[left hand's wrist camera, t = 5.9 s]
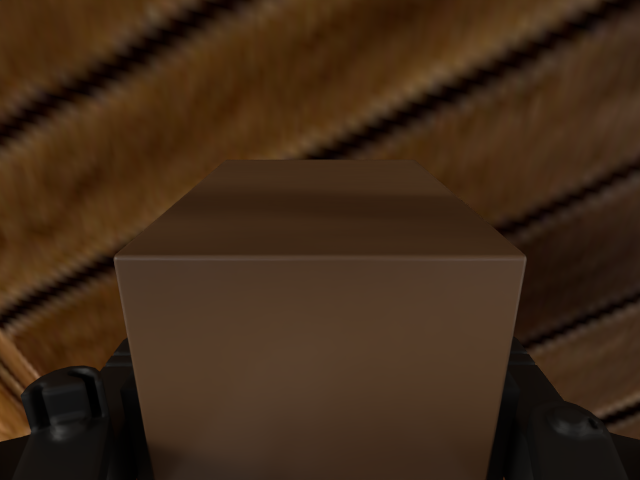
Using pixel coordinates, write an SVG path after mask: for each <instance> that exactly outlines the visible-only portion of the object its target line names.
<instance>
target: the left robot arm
mask: <svg viewBox="0 0 640 480" xmlns="http://www.w3.org/2000/svg"><path fill="white" fill-rule="evenodd" d="M21 399H22V402H23V405H24V409H25V412H26V415H27V419H28V422H29V425H30V429H31V434H30V435H27V436H23V437H19V438H15V439H11V440H6V441H2V442H0V480H136V478H137V480H153V474H152V469H151V463H150V458H149V452H148V447H147V441H146V436H145V430H144V425H143V419H142V413H141V408H140V402H139V397H138V391H137V386H136V380H135V375H134V369H133V364H132V358H131V353H130V347H129V342H128V338H126V339H125V340H123V342H122V343H121V344H120V346H119V347H118V348H117V350H116V351H115V352H114V356H111V358H110V359H109V360H108V362H107V363H106V366H105V367H103V368H102V370H101V371H100V372H99V371H98V370H97V369H96V368H93V367H88V366H70V367H66V368H63V369H59V370H55V371H53V372H51V373H48V374H46V375H44V376H42V377H40V378H39V379H37V380H36V381H34V382H33V383H32V384H30V385H29V386H28V387H27V388H26V389H25V391H24V392H23V393H22V394H21ZM503 476H504V478H505V480H640V440H638V439H633V438H629V437H624V436H620V435H617V434H613V433H610V432H609V431H608V430H607V428H606V427H605V425H604V424H603V422H602V421H601V420H600V419H598V418H597V417H596V416H595V415H594V414H592V413H591V412H590V411H588V410H586V409H584V408H582V407H580V406H578V405H576V404H573V403H569V402H566V401H564V400H563V399H562V398H561V396H560V395H559V394H558V392H557V391H556V390H555V388H554V387H553V386H552V384H551V383H550V382H549V380H548V379H547V378H546V376H545V375H544V374H543V372H542V371H541V370H540V369H539V367H538V366H537V365H535V362H534V361H533V359H532V358H531V357H530V355H529V354H527V351H526V350H525V349H524V347H523V346H522V345H521V343H520V342H519V341H518V339H516V338H515V337H513V338H512V344H511V349H510V355H509V360H508V366H507V371H506V377H505V382H504V388H503V393H502V399H501V404H500V410H499V415H498V421H497V426H496V432H495V437H494V443H493V448H492V454H491V460H490V465H489V471H488V476H487V480H503Z"/></svg>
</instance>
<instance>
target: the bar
mask: <svg viewBox="0 0 640 480" xmlns="http://www.w3.org/2000/svg"><path fill="white" fill-rule="evenodd" d="M526 261H527V259H526V255H525V254H523V253H522V252H521V251H520V250H519V249H518V248H516V247H515V246H514V245H513V244H512V243H511V242H509V241H508V240H507V239H506V238H505V237H504V236H502V235H501V234H500V233H499V232H498V231H497V230H495V229H494V228H493V227H492V226H491V225H490V224H488V223H487V222H486V221H485V220H484V219H483V218H481V217H480V216H479V215H478V214H477V213H476V212H474V211H473V210H472V209H471V208H470V207H469V206H467V205H466V204H465V203H464V202H463V201H462V200H460V199H459V198H458V197H457V196H456V195H455V194H453V193H452V192H451V191H450V190H449V189H448V188H446V187H445V186H444V185H443V184H442V183H441V182H439V181H438V180H437V179H436V178H435V177H434V176H432V175H431V174H430V173H429V172H428V171H427V170H425V169H424V168H423V167H422V166H421V165H420V164H418V163H417V162H416V161H415V160H226V161H224V162H223V163H222V164H221V165H220V166H218V167H217V168H216V169H215V170H214V171H213V172H211V173H210V174H209V175H208V176H207V177H206V178H204V179H203V180H202V181H201V182H200V183H199V184H197V185H196V186H195V187H194V188H193V189H192V190H190V191H189V192H188V193H187V194H186V195H185V196H183V197H182V198H181V199H180V200H179V201H178V202H176V203H175V204H174V205H173V206H172V207H171V208H169V209H168V210H167V211H166V212H165V213H164V214H162V215H161V216H160V217H159V218H158V219H157V220H155V221H154V222H153V223H152V224H151V225H150V226H148V227H147V228H146V229H145V230H144V231H143V232H141V233H140V234H139V235H138V236H137V237H136V238H134V239H133V240H132V241H131V242H130V243H129V244H127V245H126V246H125V247H124V248H123V249H122V250H120V251H119V252H118V253H117V254H116V255H115V257H114V264H115V270H116V275H117V281H118V286H119V292H120V297H121V303H122V308H123V314H124V319H125V325H126V330H127V336H128V342H129V347H130V353H131V358H132V364H133V369H134V375H135V380H136V386H137V391H138V397H139V402H140V408H141V413H142V419H143V425H144V430H145V436H146V441H147V447H148V452H149V458H150V463H151V469H152V474H153V480H487V476H488V471H489V465H490V460H491V454H492V448H493V443H494V437H495V432H496V426H497V421H498V415H499V410H500V404H501V399H502V393H503V388H504V382H505V377H506V371H507V366H508V360H509V355H510V349H511V344H512V338H513V333H514V327H515V322H516V316H517V311H518V305H519V300H520V294H521V289H522V283H523V277H524V272H525V266H526Z"/></svg>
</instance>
